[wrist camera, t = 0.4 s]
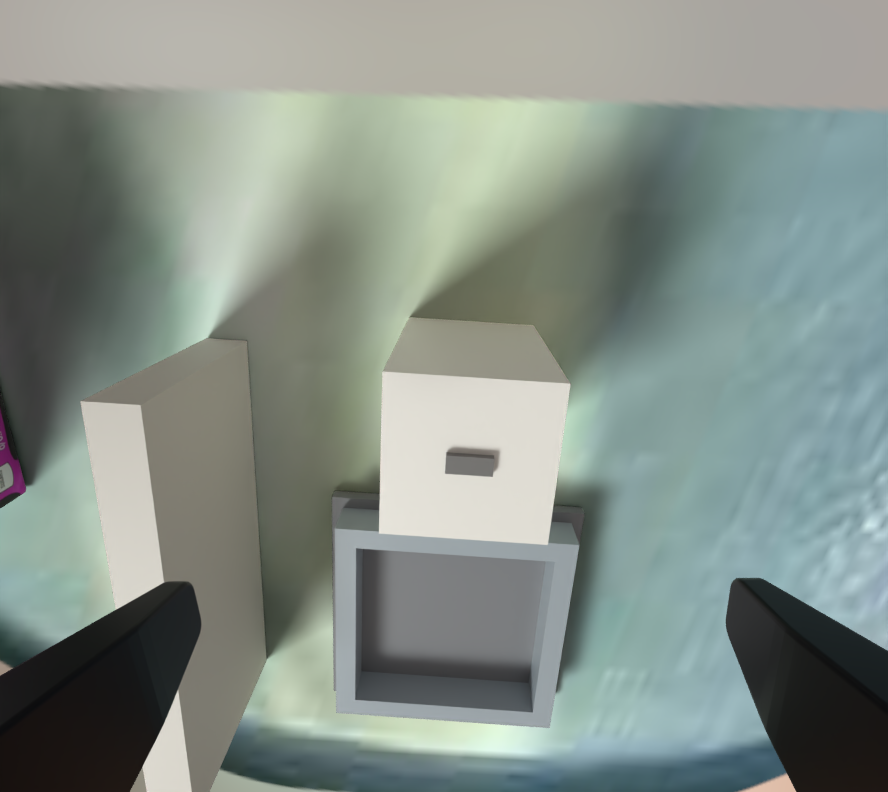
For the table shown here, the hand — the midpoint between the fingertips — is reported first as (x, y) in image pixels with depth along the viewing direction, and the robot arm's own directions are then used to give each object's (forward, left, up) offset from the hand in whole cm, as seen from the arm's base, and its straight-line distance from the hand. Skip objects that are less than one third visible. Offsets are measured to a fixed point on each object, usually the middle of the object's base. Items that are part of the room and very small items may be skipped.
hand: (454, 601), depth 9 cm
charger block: (0, 0, -12) cm, 12 cm away
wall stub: (+9, +6, -12) cm, 16 cm away
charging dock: (0, +10, -12) cm, 15 cm away
